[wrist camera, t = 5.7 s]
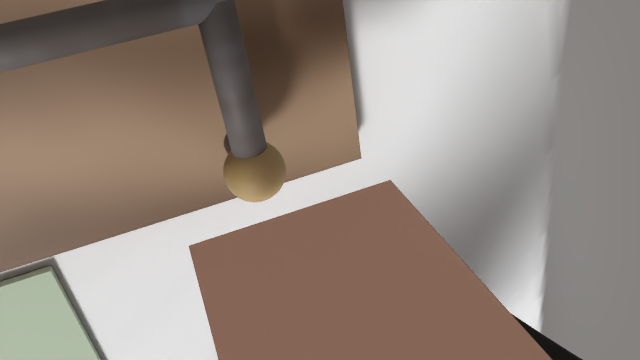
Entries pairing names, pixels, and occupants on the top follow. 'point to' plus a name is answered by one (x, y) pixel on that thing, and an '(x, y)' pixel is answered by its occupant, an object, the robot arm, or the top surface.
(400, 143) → the top surface
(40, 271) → the mat
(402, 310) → the terracotta block
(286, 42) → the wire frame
